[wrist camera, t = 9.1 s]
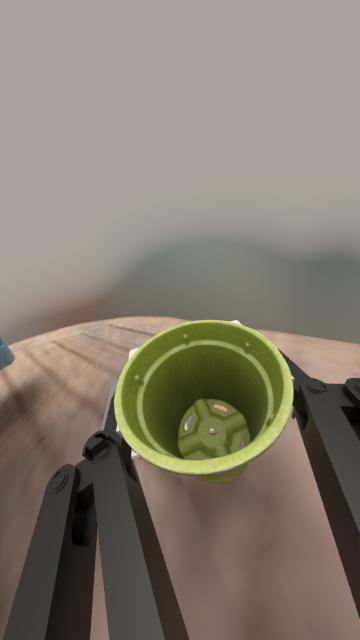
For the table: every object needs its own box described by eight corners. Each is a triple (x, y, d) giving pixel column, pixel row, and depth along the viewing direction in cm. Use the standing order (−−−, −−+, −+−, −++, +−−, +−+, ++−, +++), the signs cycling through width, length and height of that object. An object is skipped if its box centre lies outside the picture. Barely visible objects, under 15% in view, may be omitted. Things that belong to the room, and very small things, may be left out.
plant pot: (136, 474, 12) (74, 416, 8) (185, 377, 19) (166, 316, 15) (277, 572, 8) (313, 562, 3) (275, 400, 15) (286, 322, 10)
